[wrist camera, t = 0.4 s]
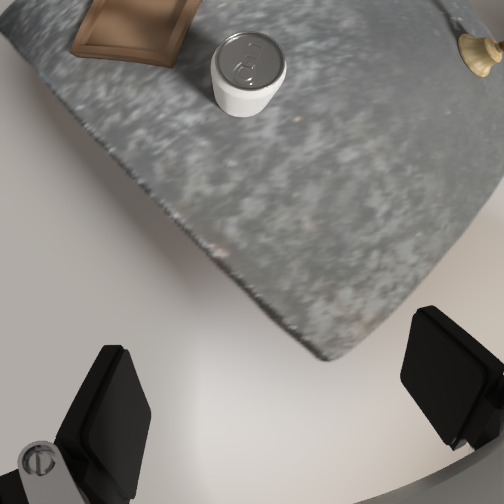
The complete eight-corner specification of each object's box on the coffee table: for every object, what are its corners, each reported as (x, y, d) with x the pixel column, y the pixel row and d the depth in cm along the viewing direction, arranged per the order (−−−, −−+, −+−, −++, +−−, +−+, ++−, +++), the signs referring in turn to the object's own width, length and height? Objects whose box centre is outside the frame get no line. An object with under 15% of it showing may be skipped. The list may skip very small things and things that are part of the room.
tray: (117, -24, 24) (112, -32, 22) (210, -17, 26) (209, -26, 24) (77, 57, 28) (69, 52, 25) (172, 68, 30) (168, 61, 28)
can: (206, 109, 32) (197, 83, 20) (224, 62, 30) (224, 18, 19) (259, 125, 33) (277, 106, 22) (276, 77, 31) (299, 41, 20)
